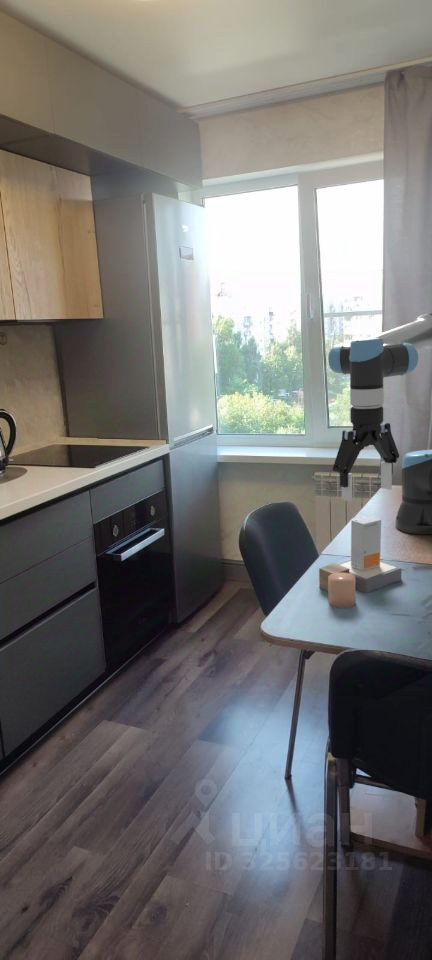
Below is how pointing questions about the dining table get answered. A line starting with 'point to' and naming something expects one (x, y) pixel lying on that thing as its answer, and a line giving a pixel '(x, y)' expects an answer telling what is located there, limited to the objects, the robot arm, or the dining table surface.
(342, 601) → the peach rounded capsule
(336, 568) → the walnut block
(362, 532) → the skincare box
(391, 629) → the dining table surface
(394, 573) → the podium
